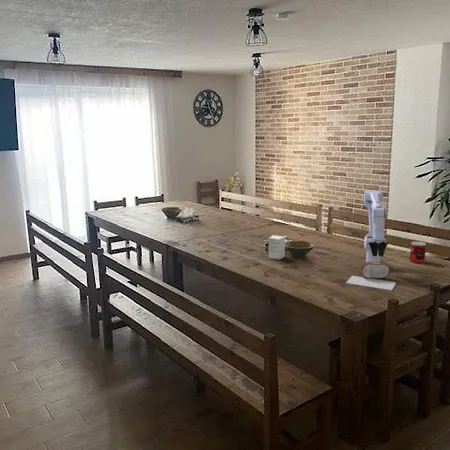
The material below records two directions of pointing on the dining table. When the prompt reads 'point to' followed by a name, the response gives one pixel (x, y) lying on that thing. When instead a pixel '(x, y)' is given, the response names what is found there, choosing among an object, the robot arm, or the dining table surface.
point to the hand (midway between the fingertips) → (377, 256)
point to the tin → (375, 270)
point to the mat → (371, 283)
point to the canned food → (417, 252)
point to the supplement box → (276, 247)
